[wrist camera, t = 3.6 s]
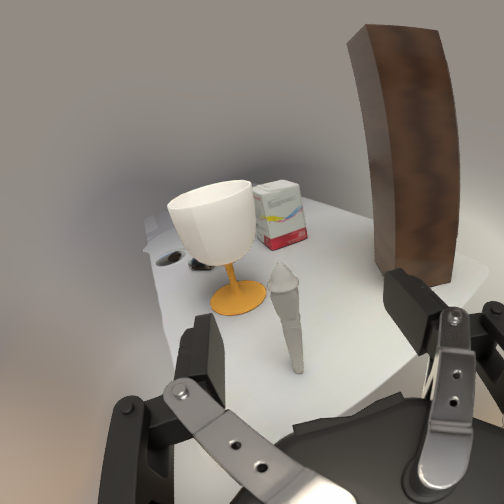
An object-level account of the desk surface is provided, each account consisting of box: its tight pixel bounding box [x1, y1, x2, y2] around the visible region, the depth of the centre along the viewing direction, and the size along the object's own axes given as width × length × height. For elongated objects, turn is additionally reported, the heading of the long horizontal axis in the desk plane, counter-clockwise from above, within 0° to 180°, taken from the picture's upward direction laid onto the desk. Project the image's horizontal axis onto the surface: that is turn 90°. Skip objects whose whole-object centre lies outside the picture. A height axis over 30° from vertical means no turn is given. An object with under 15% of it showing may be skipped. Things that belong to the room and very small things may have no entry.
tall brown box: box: [347, 24, 460, 287], centre depth 32 cm, size 10×10×35 cm
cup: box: [167, 180, 266, 316], centre depth 41 cm, size 12×12×17 cm
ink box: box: [252, 179, 308, 250], centre depth 58 cm, size 9×9×12 cm
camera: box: [188, 258, 214, 269], centre depth 58 cm, size 5×10×4 cm, turn 161°
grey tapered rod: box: [267, 261, 304, 374], centre depth 26 cm, size 2×3×14 cm
